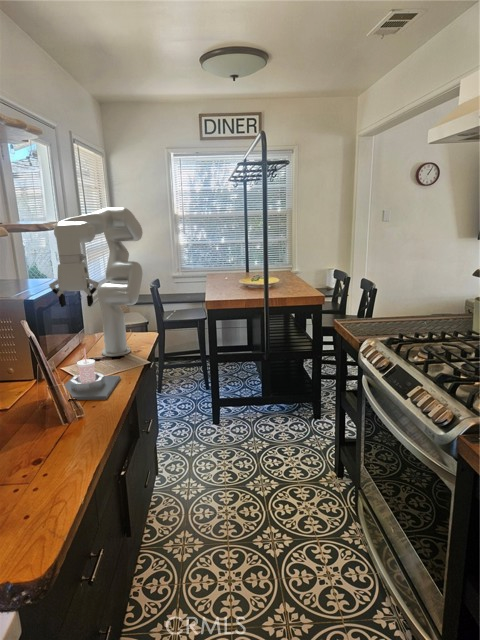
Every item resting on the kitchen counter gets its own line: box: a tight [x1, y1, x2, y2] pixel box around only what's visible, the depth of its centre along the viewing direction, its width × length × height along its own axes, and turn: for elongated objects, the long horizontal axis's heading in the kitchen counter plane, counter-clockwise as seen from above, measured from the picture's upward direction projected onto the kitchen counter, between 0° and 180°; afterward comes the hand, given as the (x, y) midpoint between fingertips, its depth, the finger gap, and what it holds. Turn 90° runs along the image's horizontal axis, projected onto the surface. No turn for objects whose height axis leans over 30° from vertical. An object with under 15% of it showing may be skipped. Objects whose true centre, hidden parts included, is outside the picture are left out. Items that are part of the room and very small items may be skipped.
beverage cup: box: [76, 348, 96, 382], centre depth 144 cm, size 6×6×14 cm
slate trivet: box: [63, 375, 121, 401], centre depth 146 cm, size 18×18×1 cm
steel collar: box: [71, 371, 105, 392], centre depth 146 cm, size 10×10×3 cm
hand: (76, 305), depth 150 cm, fingers open, 9 cm apart
